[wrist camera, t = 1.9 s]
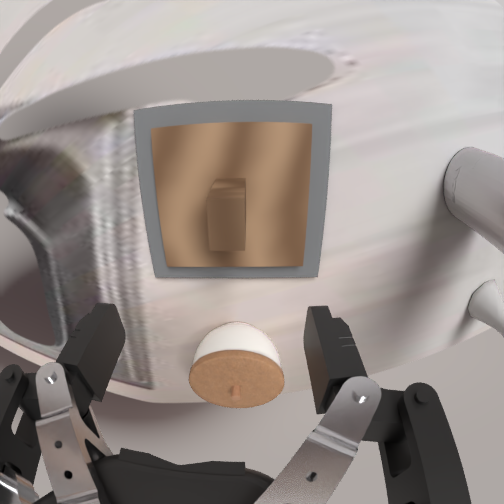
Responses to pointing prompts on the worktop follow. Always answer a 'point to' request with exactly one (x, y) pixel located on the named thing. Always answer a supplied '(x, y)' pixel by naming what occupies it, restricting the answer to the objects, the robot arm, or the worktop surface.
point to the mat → (237, 112)
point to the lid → (233, 193)
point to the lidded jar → (237, 367)
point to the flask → (488, 306)
